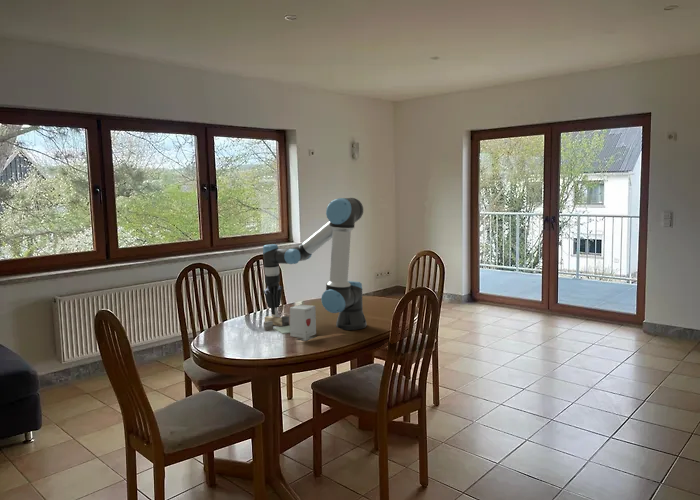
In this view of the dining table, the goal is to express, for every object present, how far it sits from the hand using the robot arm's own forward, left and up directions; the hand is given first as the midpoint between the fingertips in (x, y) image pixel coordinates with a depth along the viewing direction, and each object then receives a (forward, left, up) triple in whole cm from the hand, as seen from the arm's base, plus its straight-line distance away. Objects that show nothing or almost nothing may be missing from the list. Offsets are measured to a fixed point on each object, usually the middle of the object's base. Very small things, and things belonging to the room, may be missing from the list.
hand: (275, 320), depth 278 cm
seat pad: (-17, 0, -2) cm, 17 cm away
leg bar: (-4, 0, -2) cm, 4 cm away
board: (-9, +4, -3) cm, 10 cm away
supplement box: (-30, -2, -3) cm, 30 cm away
